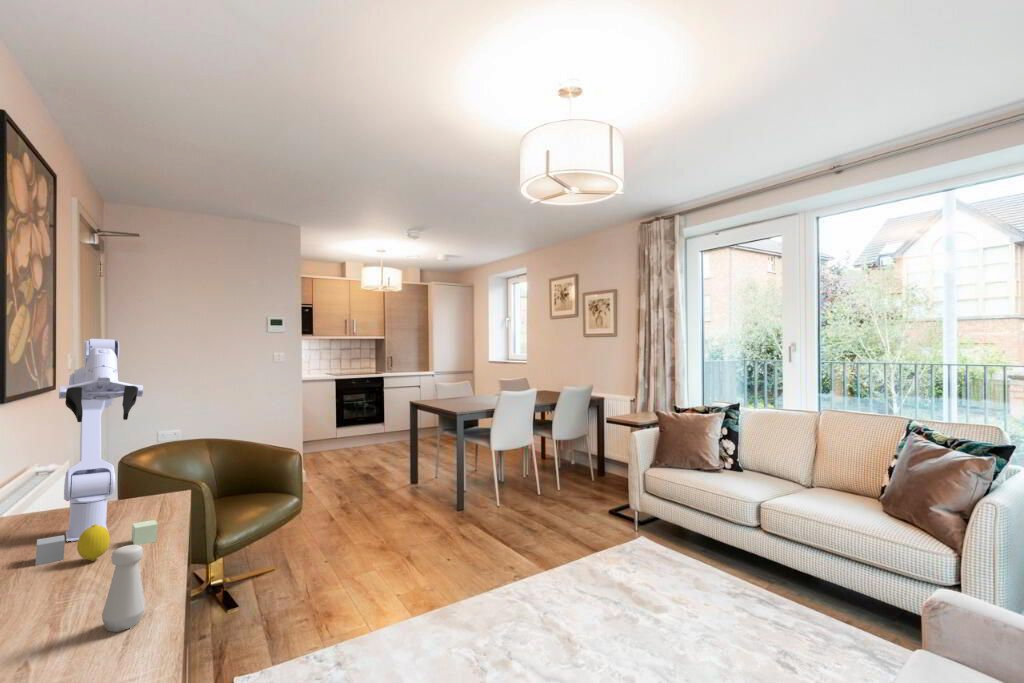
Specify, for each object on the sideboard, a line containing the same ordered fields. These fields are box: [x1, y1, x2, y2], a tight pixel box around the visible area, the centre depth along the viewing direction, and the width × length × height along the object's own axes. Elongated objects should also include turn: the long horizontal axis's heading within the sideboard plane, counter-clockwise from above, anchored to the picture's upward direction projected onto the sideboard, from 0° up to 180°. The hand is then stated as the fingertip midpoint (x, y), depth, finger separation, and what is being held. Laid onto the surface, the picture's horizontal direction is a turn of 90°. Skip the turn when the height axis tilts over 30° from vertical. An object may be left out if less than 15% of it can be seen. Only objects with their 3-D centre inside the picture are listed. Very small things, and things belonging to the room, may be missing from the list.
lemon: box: [76, 524, 111, 562], centre depth 108 cm, size 6×6×8 cm
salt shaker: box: [101, 544, 146, 633], centre depth 82 cm, size 6×6×13 cm
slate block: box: [34, 534, 66, 567], centre depth 109 cm, size 4×4×4 cm
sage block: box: [131, 519, 159, 546], centre depth 120 cm, size 4×4×4 cm
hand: (103, 417), depth 106 cm, fingers open, 7 cm apart
